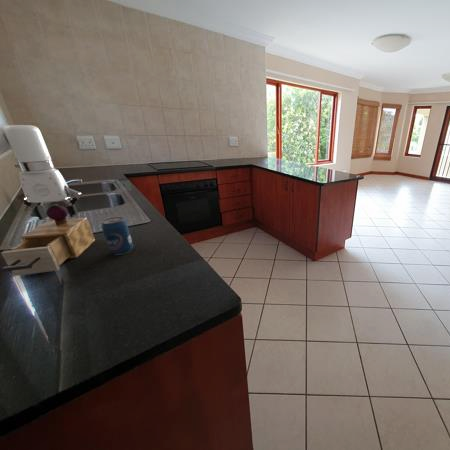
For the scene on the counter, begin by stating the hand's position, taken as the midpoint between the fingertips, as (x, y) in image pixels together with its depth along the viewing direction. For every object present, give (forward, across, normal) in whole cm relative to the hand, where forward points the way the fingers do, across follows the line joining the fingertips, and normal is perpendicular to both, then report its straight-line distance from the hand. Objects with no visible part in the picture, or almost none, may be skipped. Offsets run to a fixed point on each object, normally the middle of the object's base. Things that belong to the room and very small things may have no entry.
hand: (59, 217), depth 83 cm
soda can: (+12, +19, -9) cm, 24 cm away
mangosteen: (+2, 0, 0) cm, 2 cm away
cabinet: (+12, 0, -3) cm, 12 cm away
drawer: (+11, 0, -15) cm, 19 cm away
